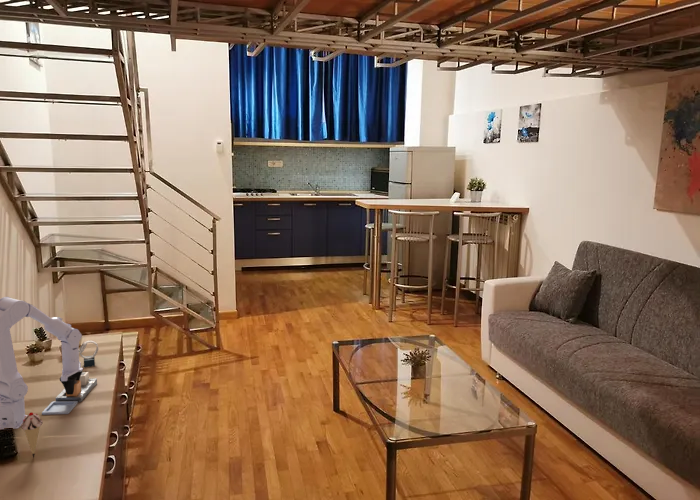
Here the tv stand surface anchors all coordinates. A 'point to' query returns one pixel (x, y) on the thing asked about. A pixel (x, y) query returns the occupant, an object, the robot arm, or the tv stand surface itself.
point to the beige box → (84, 378)
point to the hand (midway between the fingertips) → (72, 391)
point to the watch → (88, 360)
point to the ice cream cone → (32, 429)
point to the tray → (59, 407)
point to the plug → (76, 389)
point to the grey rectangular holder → (84, 392)
